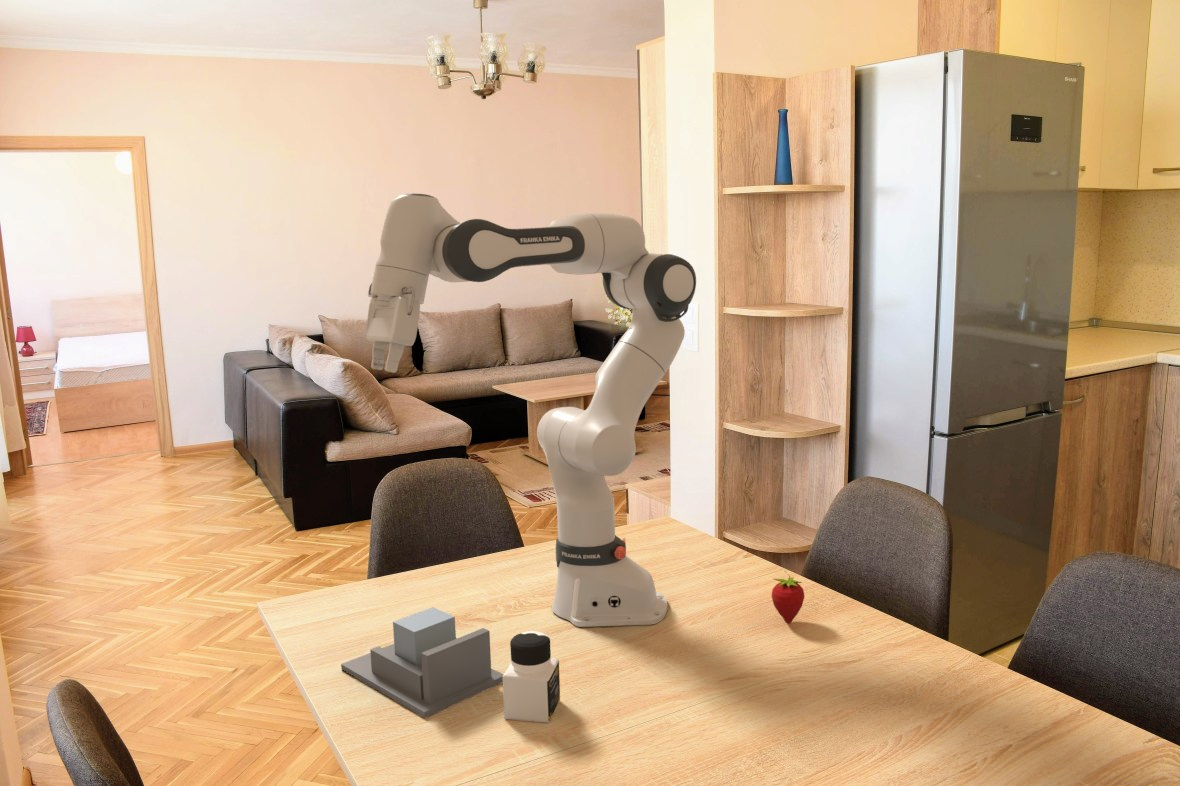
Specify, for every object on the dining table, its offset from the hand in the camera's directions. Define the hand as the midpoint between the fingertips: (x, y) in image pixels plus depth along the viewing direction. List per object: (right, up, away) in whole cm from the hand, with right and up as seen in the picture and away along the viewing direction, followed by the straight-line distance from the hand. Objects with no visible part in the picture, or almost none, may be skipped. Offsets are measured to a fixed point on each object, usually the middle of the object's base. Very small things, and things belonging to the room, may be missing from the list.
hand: (383, 370), depth 152 cm
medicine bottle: (+26, -53, -11) cm, 60 cm away
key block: (+7, -50, -1) cm, 50 cm away
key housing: (+6, -51, +1) cm, 51 cm away
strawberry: (+71, -47, +18) cm, 87 cm away
